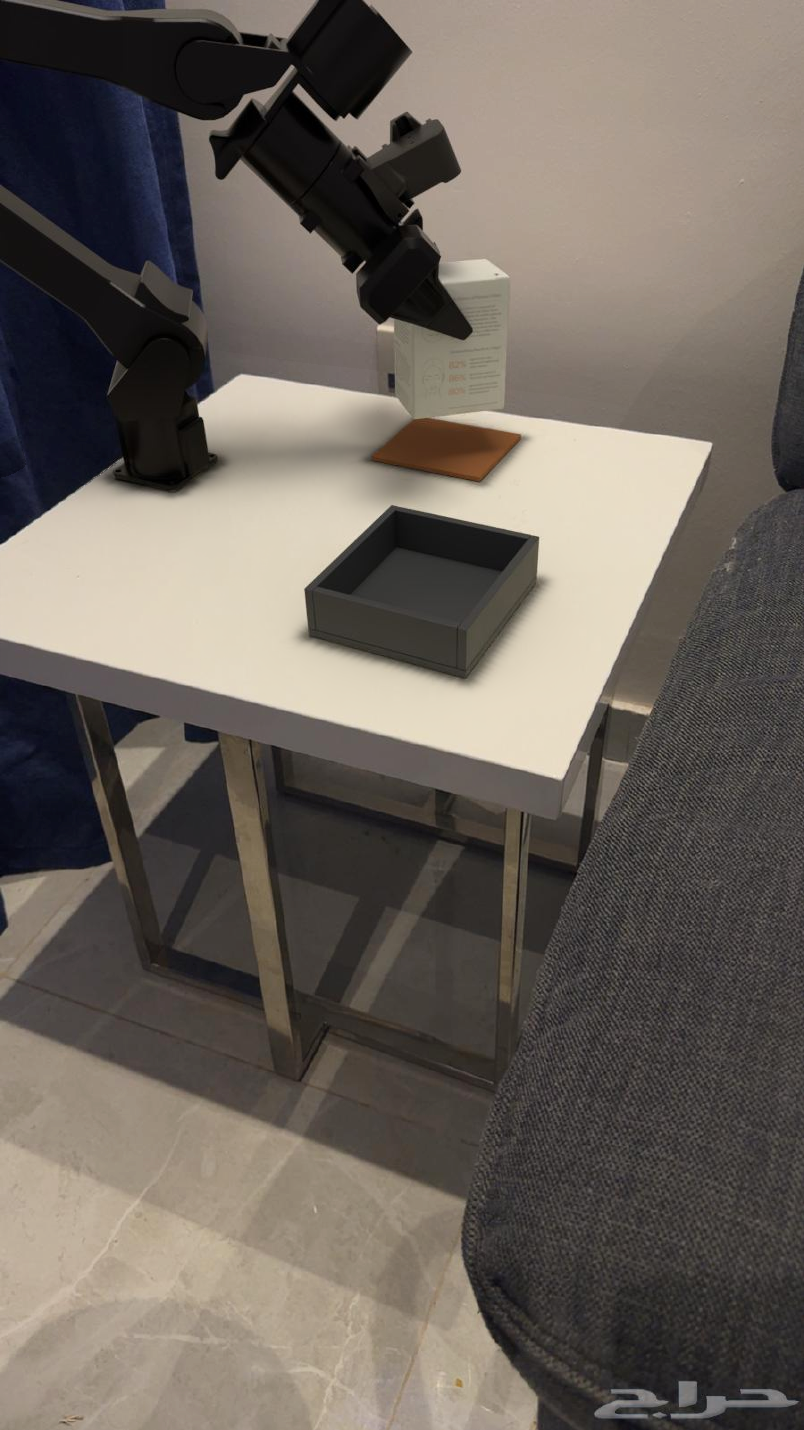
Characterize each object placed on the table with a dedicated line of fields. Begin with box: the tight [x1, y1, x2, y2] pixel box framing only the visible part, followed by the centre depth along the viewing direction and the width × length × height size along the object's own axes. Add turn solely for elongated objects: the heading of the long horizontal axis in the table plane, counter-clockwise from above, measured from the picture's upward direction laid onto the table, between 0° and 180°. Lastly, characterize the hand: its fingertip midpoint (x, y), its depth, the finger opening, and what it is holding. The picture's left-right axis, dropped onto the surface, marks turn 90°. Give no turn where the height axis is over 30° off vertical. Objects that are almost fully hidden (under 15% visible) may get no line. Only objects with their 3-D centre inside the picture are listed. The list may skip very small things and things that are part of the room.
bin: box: [303, 504, 540, 679], centre depth 68 cm, size 11×12×4 cm
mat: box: [370, 417, 522, 483], centre depth 88 cm, size 10×9×1 cm
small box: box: [393, 258, 511, 420], centre depth 83 cm, size 8×6×10 cm
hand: (462, 321), depth 82 cm, fingers closed on small box, 6 cm apart
